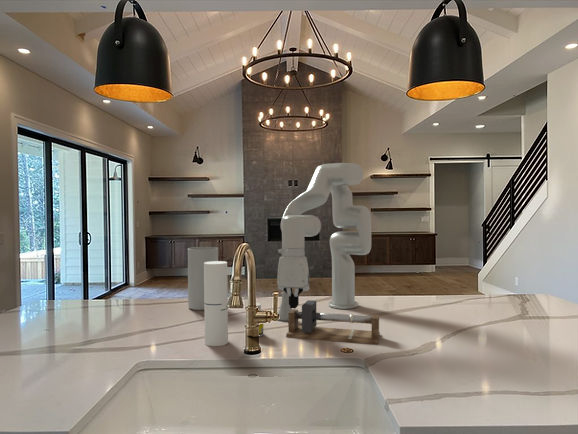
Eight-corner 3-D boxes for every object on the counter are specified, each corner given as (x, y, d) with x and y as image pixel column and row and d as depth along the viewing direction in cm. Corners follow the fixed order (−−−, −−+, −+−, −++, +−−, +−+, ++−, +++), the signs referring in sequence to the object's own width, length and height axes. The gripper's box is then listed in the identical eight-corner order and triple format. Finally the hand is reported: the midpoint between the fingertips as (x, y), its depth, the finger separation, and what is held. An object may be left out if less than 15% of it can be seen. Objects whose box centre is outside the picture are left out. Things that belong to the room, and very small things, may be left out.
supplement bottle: (244, 334, 138) (243, 303, 138) (259, 331, 140) (259, 301, 140) (249, 338, 133) (249, 307, 133) (265, 336, 135) (265, 305, 135)
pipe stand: (286, 336, 135) (286, 314, 135) (294, 328, 144) (294, 307, 144) (377, 344, 127) (377, 320, 127) (379, 334, 136) (379, 312, 136)
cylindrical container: (202, 340, 131) (201, 261, 131) (224, 337, 134) (224, 260, 134) (207, 347, 125) (206, 264, 124) (230, 344, 128) (229, 263, 127)
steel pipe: (292, 319, 138) (292, 311, 138) (294, 317, 140) (294, 309, 140) (375, 325, 130) (375, 317, 130) (375, 323, 133) (375, 314, 133)
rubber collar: (301, 331, 134) (301, 305, 134) (307, 324, 142) (307, 300, 142) (310, 332, 133) (310, 306, 133) (316, 325, 141) (316, 300, 141)
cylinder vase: (223, 304, 181) (222, 247, 180) (211, 311, 169) (210, 250, 168) (196, 303, 184) (195, 246, 183) (183, 309, 172) (182, 249, 171)
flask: (295, 316, 160) (295, 290, 160) (294, 321, 153) (294, 294, 153) (277, 316, 161) (277, 290, 160) (274, 321, 154) (274, 294, 153)
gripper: (268, 253, 137) (268, 308, 138) (312, 254, 133) (312, 311, 133) (275, 251, 144) (276, 303, 145) (317, 252, 140) (317, 306, 141)
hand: (293, 307), depth 139 cm, fingers closed
